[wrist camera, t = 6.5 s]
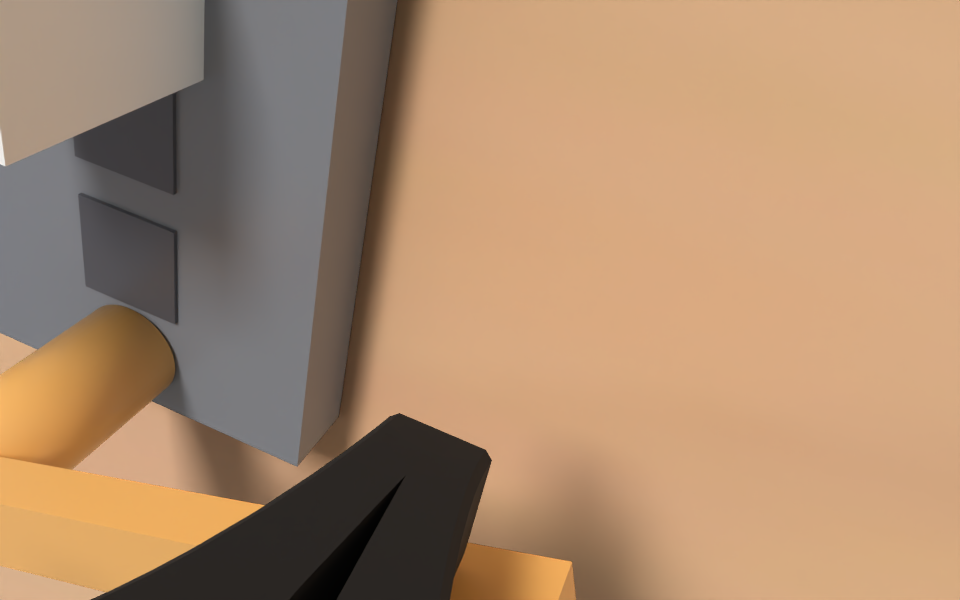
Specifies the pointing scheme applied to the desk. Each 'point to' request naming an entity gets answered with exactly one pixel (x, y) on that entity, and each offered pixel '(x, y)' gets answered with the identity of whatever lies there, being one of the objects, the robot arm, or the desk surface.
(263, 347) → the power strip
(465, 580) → the clip
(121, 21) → the plug
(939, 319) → the desk surface
